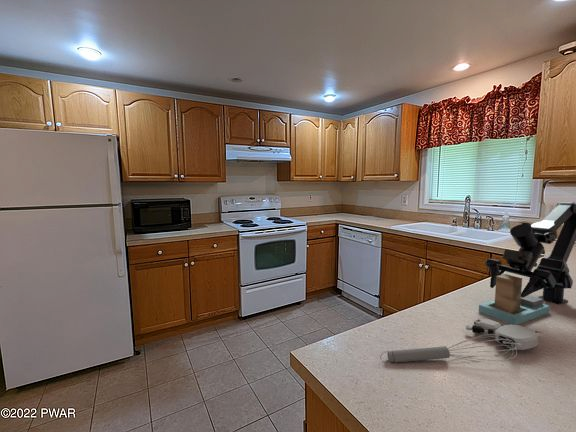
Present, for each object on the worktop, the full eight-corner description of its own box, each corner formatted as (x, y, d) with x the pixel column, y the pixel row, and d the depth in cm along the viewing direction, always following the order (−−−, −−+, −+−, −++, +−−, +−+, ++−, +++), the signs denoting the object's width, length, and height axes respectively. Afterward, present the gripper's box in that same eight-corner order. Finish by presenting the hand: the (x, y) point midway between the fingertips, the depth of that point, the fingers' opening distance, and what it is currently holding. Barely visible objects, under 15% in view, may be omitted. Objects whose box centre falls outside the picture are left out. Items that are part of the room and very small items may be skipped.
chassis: (512, 301, 105) (513, 289, 105) (549, 312, 95) (550, 300, 95) (478, 311, 97) (479, 299, 97) (514, 325, 87) (515, 311, 87)
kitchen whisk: (376, 355, 74) (376, 332, 73) (503, 352, 74) (505, 329, 73) (384, 370, 67) (385, 345, 67) (523, 367, 68) (525, 342, 67)
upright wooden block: (503, 310, 98) (505, 274, 96) (519, 316, 93) (522, 278, 92) (494, 313, 96) (496, 276, 94) (510, 319, 91) (513, 280, 90)
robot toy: (462, 337, 83) (523, 360, 70) (462, 322, 83) (523, 342, 70) (485, 326, 89) (546, 346, 75) (485, 312, 88) (546, 330, 75)
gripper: (489, 236, 102) (467, 270, 99) (554, 246, 85) (530, 287, 82) (501, 255, 106) (480, 288, 103) (565, 268, 89) (543, 307, 86)
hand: (505, 291), depth 93 cm, fingers open, 9 cm apart
